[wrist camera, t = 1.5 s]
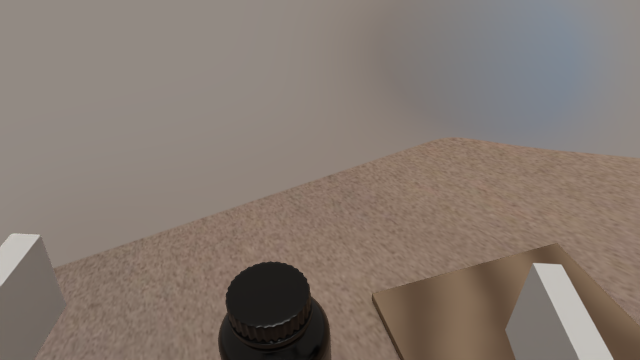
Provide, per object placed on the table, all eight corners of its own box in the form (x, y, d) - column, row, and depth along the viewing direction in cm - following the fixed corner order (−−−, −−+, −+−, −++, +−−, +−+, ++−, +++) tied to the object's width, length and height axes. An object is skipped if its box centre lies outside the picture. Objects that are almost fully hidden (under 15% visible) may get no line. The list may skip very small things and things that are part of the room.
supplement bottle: (251, 470, 30) (216, 364, 23) (229, 378, 36) (194, 268, 28) (350, 428, 32) (346, 317, 25) (315, 346, 37) (302, 235, 30)
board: (555, 249, 44) (556, 243, 44) (687, 385, 33) (692, 379, 33) (372, 299, 41) (372, 293, 40) (453, 470, 30) (455, 464, 29)
